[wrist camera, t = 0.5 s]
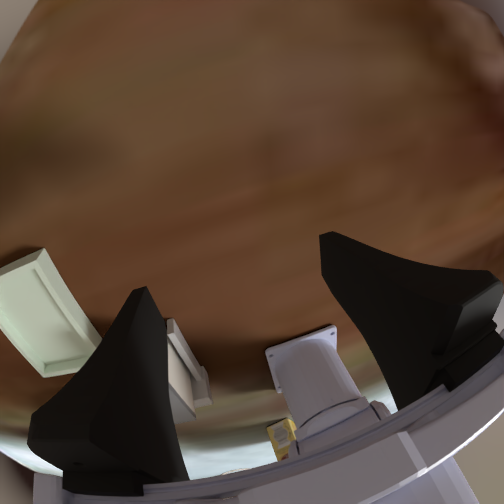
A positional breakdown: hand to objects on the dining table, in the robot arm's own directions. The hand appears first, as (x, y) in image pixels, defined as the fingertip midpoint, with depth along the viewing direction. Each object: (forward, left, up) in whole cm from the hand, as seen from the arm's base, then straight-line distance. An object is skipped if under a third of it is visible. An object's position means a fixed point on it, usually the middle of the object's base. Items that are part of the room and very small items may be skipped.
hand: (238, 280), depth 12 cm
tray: (-5, +18, -10) cm, 21 cm away
